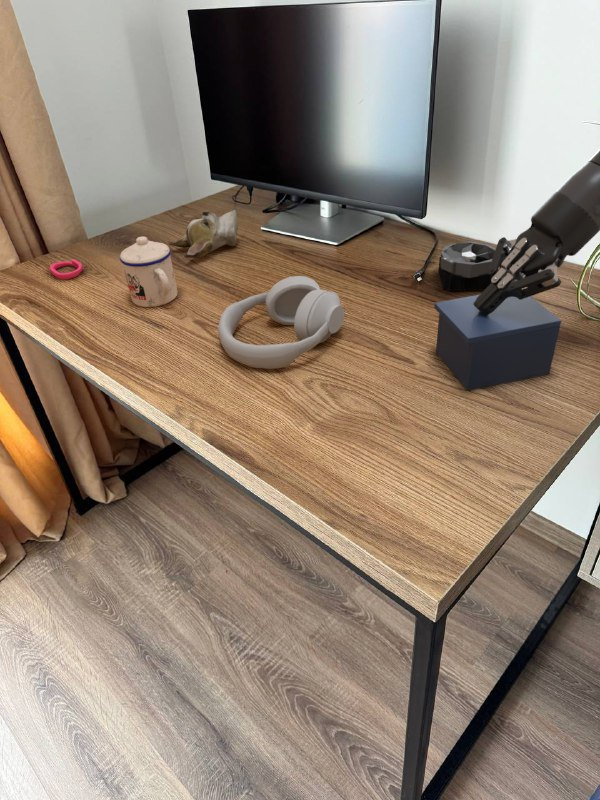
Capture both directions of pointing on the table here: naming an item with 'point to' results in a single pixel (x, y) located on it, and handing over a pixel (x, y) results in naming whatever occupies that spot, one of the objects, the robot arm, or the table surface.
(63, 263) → the fitness band
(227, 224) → the ceramic sculpture
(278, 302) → the headphones
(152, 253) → the teacup with lid
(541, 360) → the chest
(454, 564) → the table surface
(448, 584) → the table surface
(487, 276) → the cpu cooler
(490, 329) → the lid
